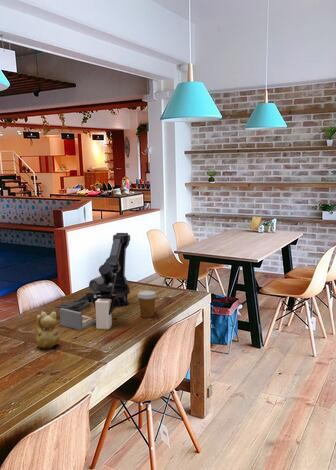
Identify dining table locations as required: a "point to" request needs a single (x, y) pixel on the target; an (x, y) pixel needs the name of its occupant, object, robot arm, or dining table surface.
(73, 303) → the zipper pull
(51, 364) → the dining table surface
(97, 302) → the white cabinet
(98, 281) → the bluetooth speaker
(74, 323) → the board
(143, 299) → the disposable coffee cup
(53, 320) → the decorative figurine
